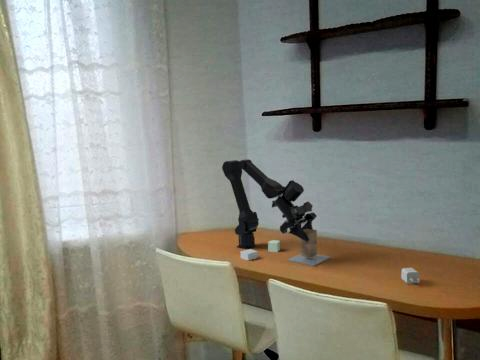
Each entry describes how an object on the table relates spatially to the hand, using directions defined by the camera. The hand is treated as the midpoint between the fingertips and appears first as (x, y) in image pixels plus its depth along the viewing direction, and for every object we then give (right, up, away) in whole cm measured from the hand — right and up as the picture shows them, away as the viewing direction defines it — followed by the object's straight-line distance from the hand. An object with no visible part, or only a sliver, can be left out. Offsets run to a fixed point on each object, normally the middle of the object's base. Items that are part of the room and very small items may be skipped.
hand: (311, 239), depth 170 cm
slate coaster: (-1, -8, +2) cm, 8 cm away
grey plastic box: (-24, -9, +7) cm, 27 cm away
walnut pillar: (-1, -7, +2) cm, 7 cm away
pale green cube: (-13, -7, +17) cm, 22 cm away
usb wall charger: (+28, -11, -27) cm, 41 cm away
